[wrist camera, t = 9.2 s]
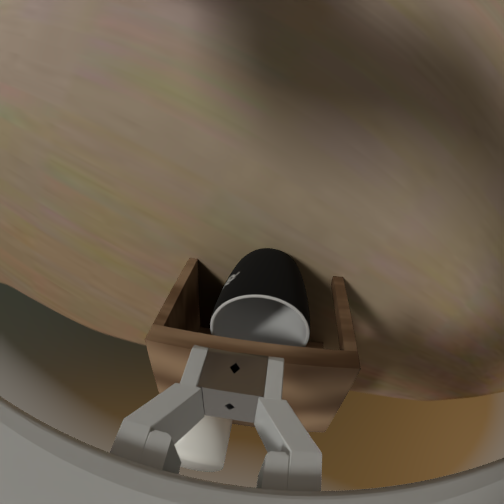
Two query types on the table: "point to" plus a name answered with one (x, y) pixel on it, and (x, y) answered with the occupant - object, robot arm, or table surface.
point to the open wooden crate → (259, 352)
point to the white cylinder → (205, 444)
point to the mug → (263, 301)
